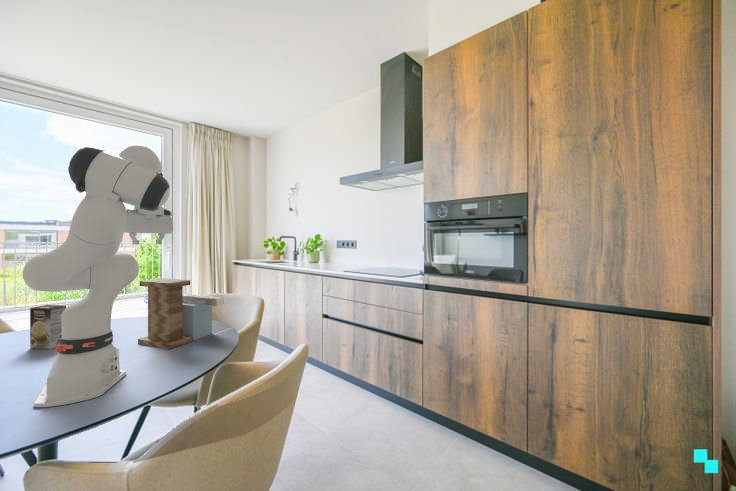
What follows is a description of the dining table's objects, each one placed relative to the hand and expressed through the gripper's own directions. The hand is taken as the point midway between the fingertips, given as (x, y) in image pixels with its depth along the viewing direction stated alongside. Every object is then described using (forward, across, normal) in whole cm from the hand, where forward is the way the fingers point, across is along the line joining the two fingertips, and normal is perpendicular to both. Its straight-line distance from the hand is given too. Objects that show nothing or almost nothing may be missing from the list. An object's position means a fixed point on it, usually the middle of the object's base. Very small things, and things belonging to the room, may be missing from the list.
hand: (147, 244), depth 126 cm
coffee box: (+41, -16, +34) cm, 56 cm away
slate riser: (+41, +14, -9) cm, 44 cm away
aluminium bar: (+26, +15, -11) cm, 32 cm away
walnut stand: (+41, +4, -5) cm, 42 cm away
